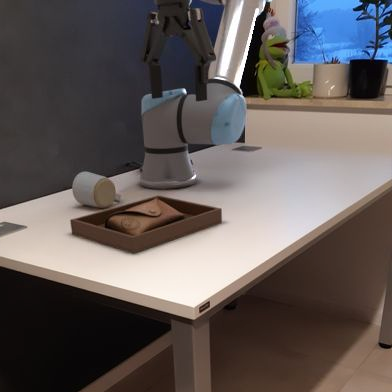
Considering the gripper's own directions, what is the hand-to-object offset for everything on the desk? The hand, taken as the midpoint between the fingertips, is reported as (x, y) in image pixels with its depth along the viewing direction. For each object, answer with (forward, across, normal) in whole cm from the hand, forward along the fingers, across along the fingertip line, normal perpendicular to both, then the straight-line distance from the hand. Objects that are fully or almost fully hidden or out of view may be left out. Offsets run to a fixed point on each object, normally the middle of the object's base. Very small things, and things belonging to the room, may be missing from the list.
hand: (178, 99), depth 117 cm
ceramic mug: (+23, -16, -13) cm, 31 cm away
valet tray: (+22, +8, -19) cm, 30 cm away
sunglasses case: (+22, +8, -19) cm, 30 cm away
